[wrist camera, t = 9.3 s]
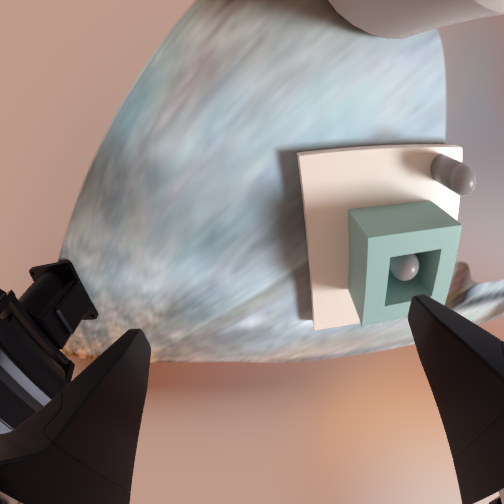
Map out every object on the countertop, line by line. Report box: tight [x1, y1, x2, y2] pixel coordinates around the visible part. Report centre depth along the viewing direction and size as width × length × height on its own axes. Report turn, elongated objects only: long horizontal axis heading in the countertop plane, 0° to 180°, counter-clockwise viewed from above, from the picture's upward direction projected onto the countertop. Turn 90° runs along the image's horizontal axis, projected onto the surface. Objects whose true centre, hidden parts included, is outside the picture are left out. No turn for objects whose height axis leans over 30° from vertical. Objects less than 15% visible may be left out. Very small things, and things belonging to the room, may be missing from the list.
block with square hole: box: [348, 201, 462, 326], centre depth 17 cm, size 6×6×4 cm
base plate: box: [297, 144, 476, 330], centre depth 18 cm, size 12×14×5 cm
